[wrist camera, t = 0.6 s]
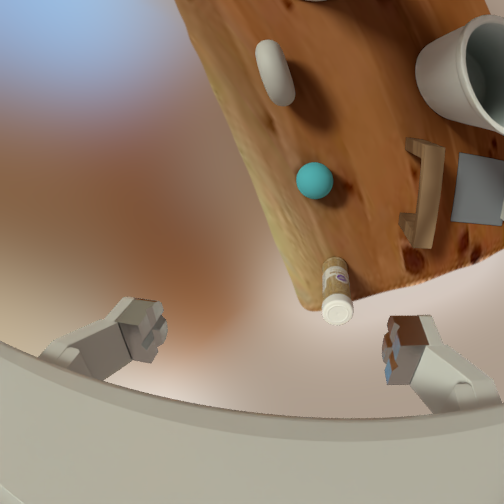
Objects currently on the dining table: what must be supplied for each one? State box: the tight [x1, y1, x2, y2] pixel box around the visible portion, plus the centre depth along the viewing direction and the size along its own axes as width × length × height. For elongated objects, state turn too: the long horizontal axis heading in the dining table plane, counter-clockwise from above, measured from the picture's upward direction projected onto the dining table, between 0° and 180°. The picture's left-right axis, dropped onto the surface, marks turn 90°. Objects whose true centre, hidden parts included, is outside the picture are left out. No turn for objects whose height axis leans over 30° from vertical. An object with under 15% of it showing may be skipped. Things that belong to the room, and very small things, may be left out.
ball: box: [296, 162, 333, 199], centre depth 45 cm, size 6×6×6 cm
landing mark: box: [451, 152, 504, 226], centre depth 42 cm, size 12×12×1 cm
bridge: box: [398, 137, 445, 249], centre depth 40 cm, size 3×14×9 cm, turn 3°
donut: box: [255, 40, 295, 106], centre depth 37 cm, size 10×3×10 cm, turn 16°
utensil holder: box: [415, 15, 504, 136], centre depth 27 cm, size 15×15×18 cm
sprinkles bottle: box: [322, 257, 354, 325], centre depth 48 cm, size 5×5×13 cm
